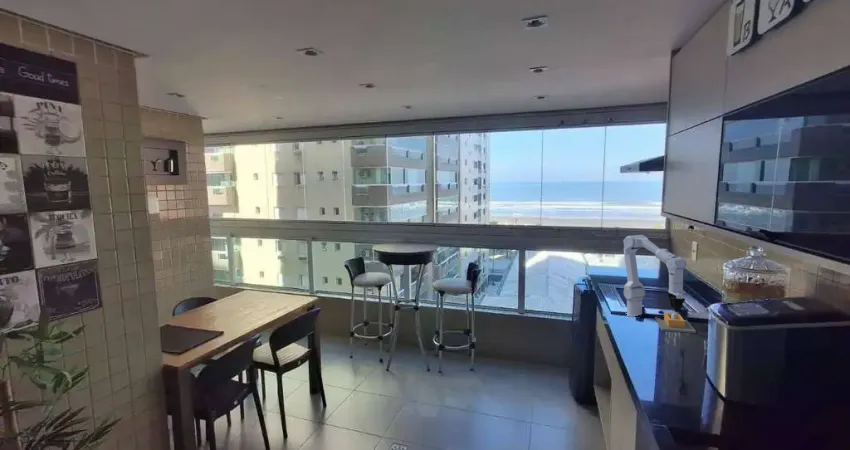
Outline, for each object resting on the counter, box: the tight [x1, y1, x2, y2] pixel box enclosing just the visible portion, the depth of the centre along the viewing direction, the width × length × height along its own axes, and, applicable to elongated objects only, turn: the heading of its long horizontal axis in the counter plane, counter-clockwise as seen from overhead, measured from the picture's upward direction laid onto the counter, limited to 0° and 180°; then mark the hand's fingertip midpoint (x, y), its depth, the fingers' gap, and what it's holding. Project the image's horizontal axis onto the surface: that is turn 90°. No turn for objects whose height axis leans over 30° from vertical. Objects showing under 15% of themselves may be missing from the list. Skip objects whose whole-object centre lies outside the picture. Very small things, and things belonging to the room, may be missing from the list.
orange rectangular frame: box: [663, 312, 685, 328], centre depth 198 cm, size 11×7×4 cm, turn 159°
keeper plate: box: [654, 312, 697, 334], centre depth 198 cm, size 20×14×6 cm
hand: (675, 309), depth 194 cm, fingers open, 7 cm apart
